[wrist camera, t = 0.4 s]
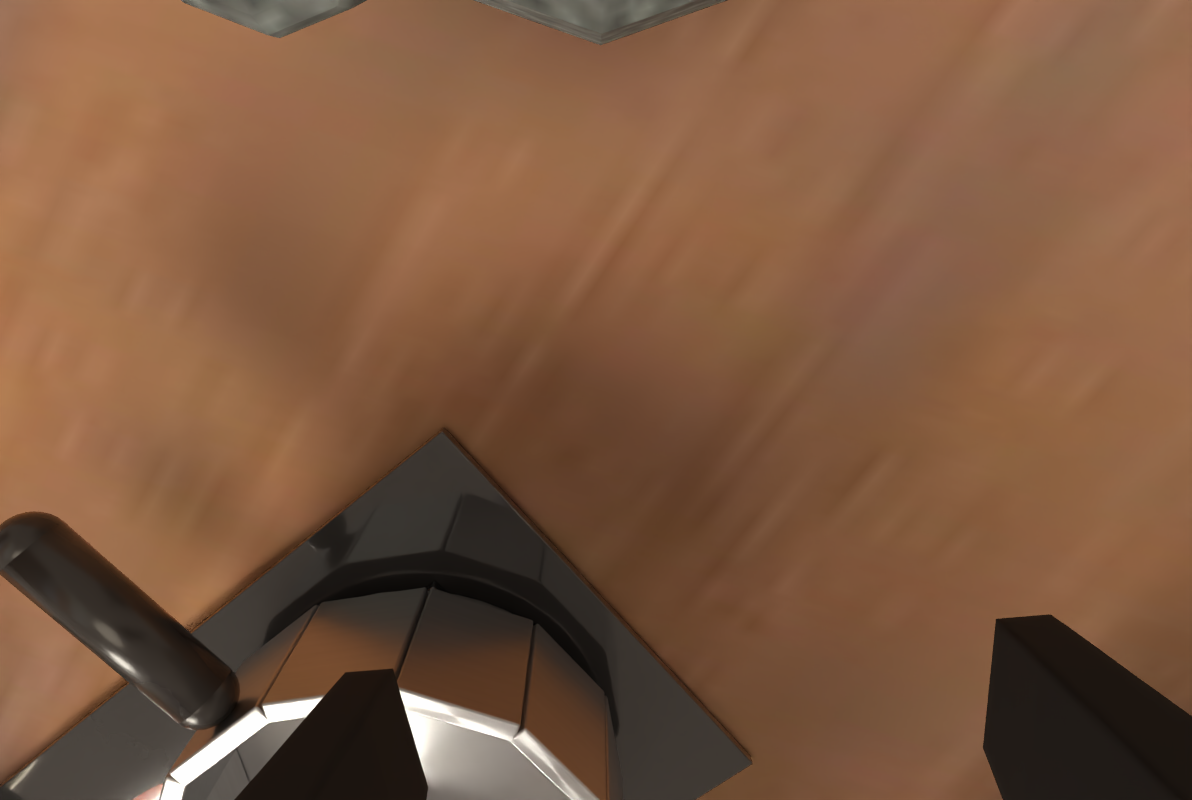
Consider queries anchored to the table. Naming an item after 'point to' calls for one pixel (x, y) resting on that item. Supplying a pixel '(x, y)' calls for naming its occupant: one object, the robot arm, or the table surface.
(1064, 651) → the robot arm
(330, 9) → the mortar and pestle
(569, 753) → the saucepan
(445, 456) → the hob
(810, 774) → the table surface
